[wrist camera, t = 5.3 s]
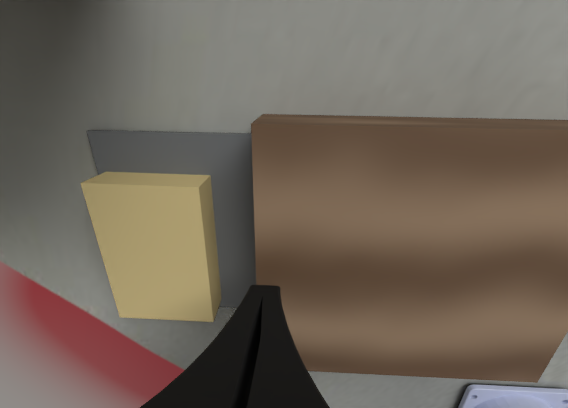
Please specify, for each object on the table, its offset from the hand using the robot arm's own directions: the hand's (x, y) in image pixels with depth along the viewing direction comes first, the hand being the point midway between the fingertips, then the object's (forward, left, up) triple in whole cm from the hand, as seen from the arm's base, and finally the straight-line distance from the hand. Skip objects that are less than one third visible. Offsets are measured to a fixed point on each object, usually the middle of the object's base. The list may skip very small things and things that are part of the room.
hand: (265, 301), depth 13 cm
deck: (+1, -7, -5) cm, 9 cm away
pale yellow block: (0, +7, -3) cm, 7 cm away
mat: (+1, +6, -5) cm, 7 cm away
